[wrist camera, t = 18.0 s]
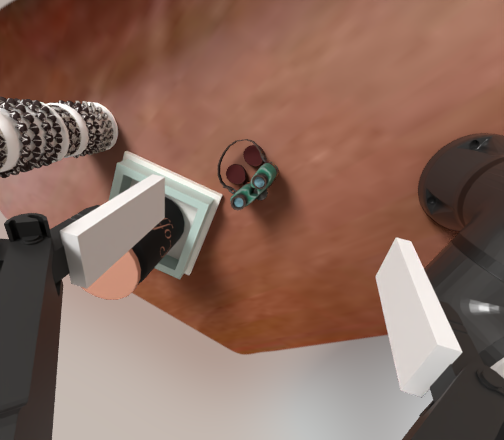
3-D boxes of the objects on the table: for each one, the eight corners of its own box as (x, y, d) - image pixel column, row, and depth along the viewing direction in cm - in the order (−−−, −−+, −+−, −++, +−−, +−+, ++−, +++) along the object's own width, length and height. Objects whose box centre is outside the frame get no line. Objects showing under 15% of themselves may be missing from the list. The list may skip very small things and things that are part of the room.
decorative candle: (93, 162, 53) (-63, 204, 30) (62, 115, 50) (-134, 122, 28) (130, 140, 50) (-10, 168, 27) (99, 89, 48) (-83, 73, 25)
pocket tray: (222, 194, 52) (216, 202, 47) (191, 272, 59) (183, 285, 55) (127, 150, 51) (112, 154, 47) (107, 235, 59) (93, 245, 55)
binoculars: (230, 130, 38) (282, 184, 38) (248, 130, 47) (289, 173, 48) (190, 176, 41) (238, 225, 42) (215, 167, 51) (253, 207, 51)
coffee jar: (194, 238, 55) (150, 295, 38) (147, 247, 57) (86, 305, 41) (175, 186, 51) (117, 224, 35) (125, 198, 54) (49, 239, 37)
